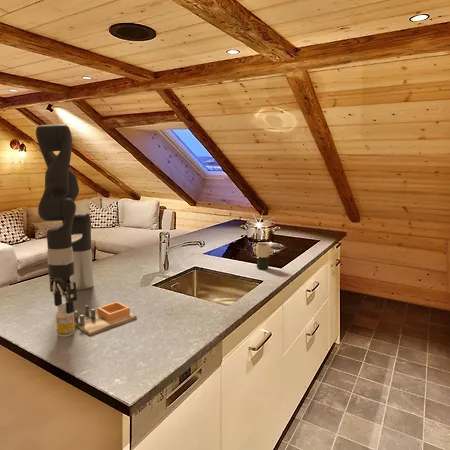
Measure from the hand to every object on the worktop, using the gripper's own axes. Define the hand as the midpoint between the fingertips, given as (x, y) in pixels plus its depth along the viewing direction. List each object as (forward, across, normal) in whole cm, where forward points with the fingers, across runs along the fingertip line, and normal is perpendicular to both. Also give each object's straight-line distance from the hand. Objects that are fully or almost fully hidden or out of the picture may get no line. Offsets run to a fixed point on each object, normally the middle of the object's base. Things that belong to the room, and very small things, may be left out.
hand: (64, 309), depth 119 cm
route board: (+8, 0, +14) cm, 16 cm away
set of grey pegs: (+8, -3, +8) cm, 12 cm away
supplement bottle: (+9, 0, 0) cm, 9 cm away
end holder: (+8, 0, +18) cm, 20 cm away
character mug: (+8, +2, +104) cm, 105 cm away
